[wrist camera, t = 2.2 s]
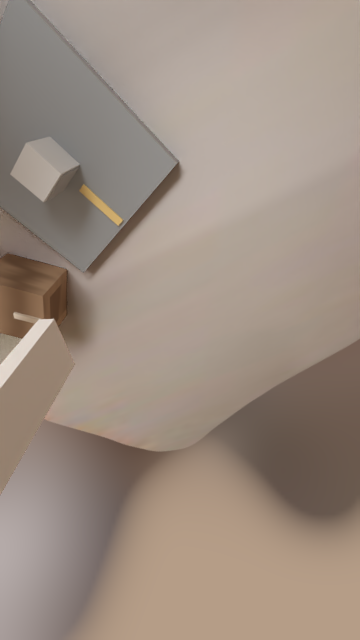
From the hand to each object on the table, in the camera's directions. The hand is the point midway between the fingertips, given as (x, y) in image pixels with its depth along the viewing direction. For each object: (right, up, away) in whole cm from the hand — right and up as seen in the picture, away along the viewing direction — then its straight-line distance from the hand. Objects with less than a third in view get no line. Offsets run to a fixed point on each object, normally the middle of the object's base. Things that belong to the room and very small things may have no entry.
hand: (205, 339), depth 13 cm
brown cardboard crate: (-19, +5, +26) cm, 33 cm away
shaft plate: (-12, +16, +17) cm, 26 cm away
